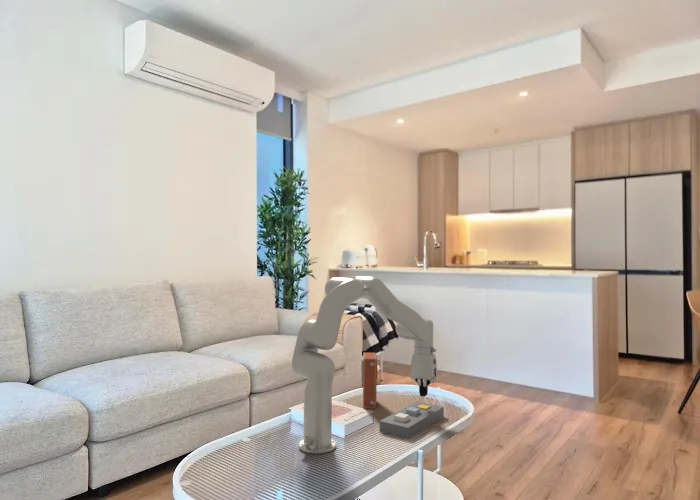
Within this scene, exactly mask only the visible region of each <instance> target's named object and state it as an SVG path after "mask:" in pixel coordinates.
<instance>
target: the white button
mask: <svg viewBox="0 0 700 500" xmlns="http://www.w3.org/2000/svg"><path fill="white" fill-rule="evenodd" d="M394 421H398V422H402V423H405V422H407V421H409V415H407V414H403V413H398V414H397V415H395V416H394Z"/></svg>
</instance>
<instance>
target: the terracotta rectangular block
mask: <svg viewBox="0 0 700 500" xmlns="http://www.w3.org/2000/svg"><path fill="white" fill-rule="evenodd" d="M360 361H361V375H360V378H361V381H360V382H361V383H362V408H363V409H376V407H377V392H378V391H377V387H378V386H377V383H378V382H377V381H378V358H377V357H376V352H363V354H362V356H361V360H360Z"/></svg>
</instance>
